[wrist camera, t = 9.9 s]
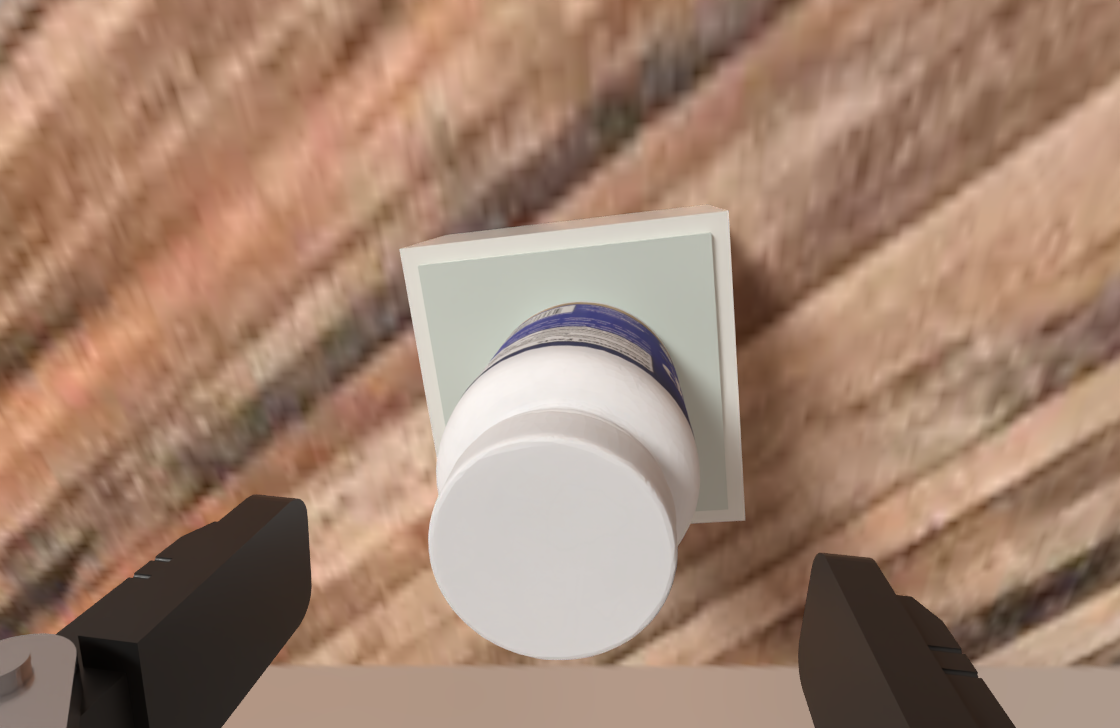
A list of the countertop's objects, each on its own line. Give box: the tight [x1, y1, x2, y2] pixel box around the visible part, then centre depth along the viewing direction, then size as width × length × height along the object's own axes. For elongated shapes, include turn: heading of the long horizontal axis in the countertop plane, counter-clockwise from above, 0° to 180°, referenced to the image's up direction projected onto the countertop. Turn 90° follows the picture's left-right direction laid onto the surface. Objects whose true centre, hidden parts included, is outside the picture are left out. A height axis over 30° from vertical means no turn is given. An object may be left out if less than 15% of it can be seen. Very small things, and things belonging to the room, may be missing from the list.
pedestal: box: [400, 204, 745, 524], centre depth 21 cm, size 9×9×5 cm
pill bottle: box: [428, 301, 700, 660], centre depth 15 cm, size 5×5×9 cm
